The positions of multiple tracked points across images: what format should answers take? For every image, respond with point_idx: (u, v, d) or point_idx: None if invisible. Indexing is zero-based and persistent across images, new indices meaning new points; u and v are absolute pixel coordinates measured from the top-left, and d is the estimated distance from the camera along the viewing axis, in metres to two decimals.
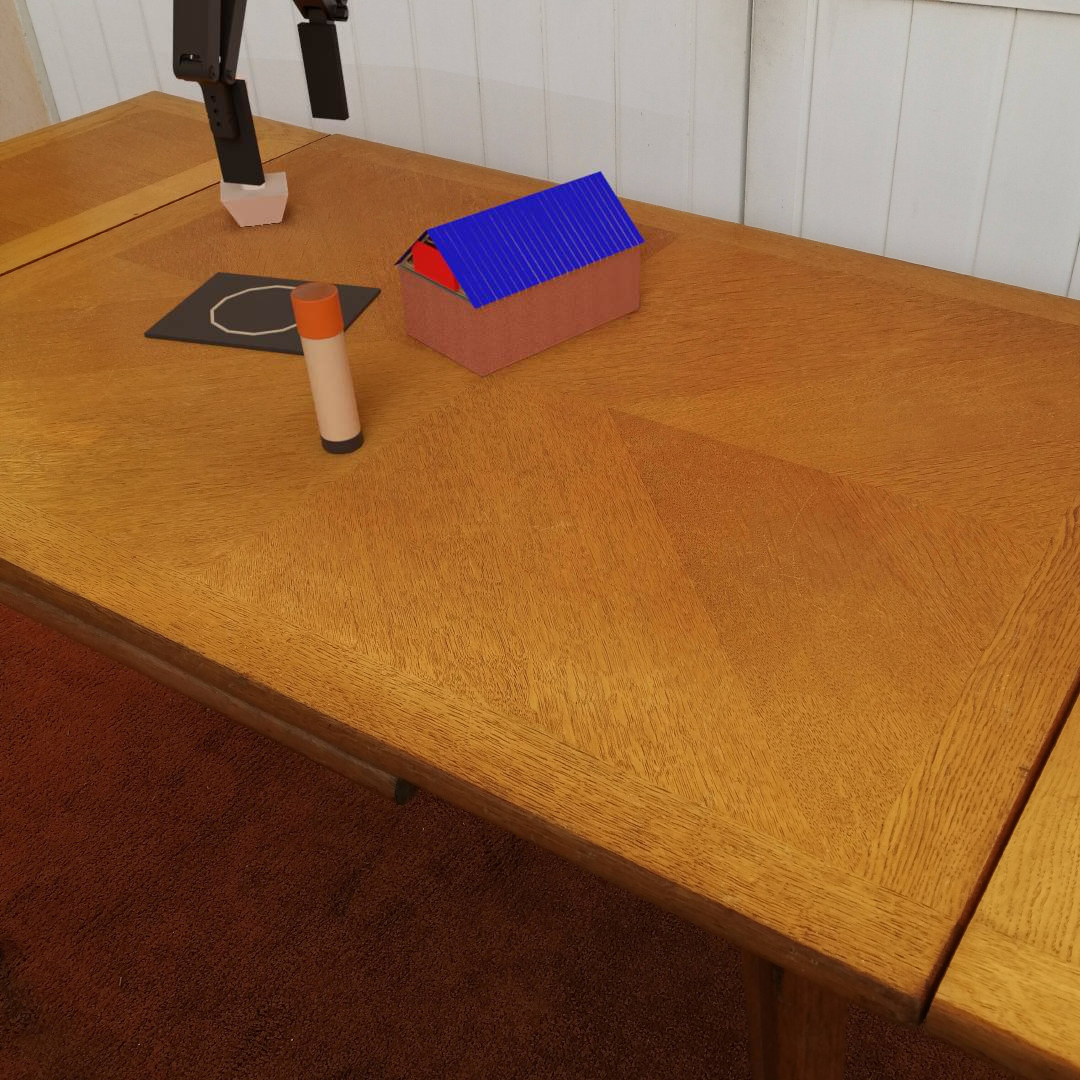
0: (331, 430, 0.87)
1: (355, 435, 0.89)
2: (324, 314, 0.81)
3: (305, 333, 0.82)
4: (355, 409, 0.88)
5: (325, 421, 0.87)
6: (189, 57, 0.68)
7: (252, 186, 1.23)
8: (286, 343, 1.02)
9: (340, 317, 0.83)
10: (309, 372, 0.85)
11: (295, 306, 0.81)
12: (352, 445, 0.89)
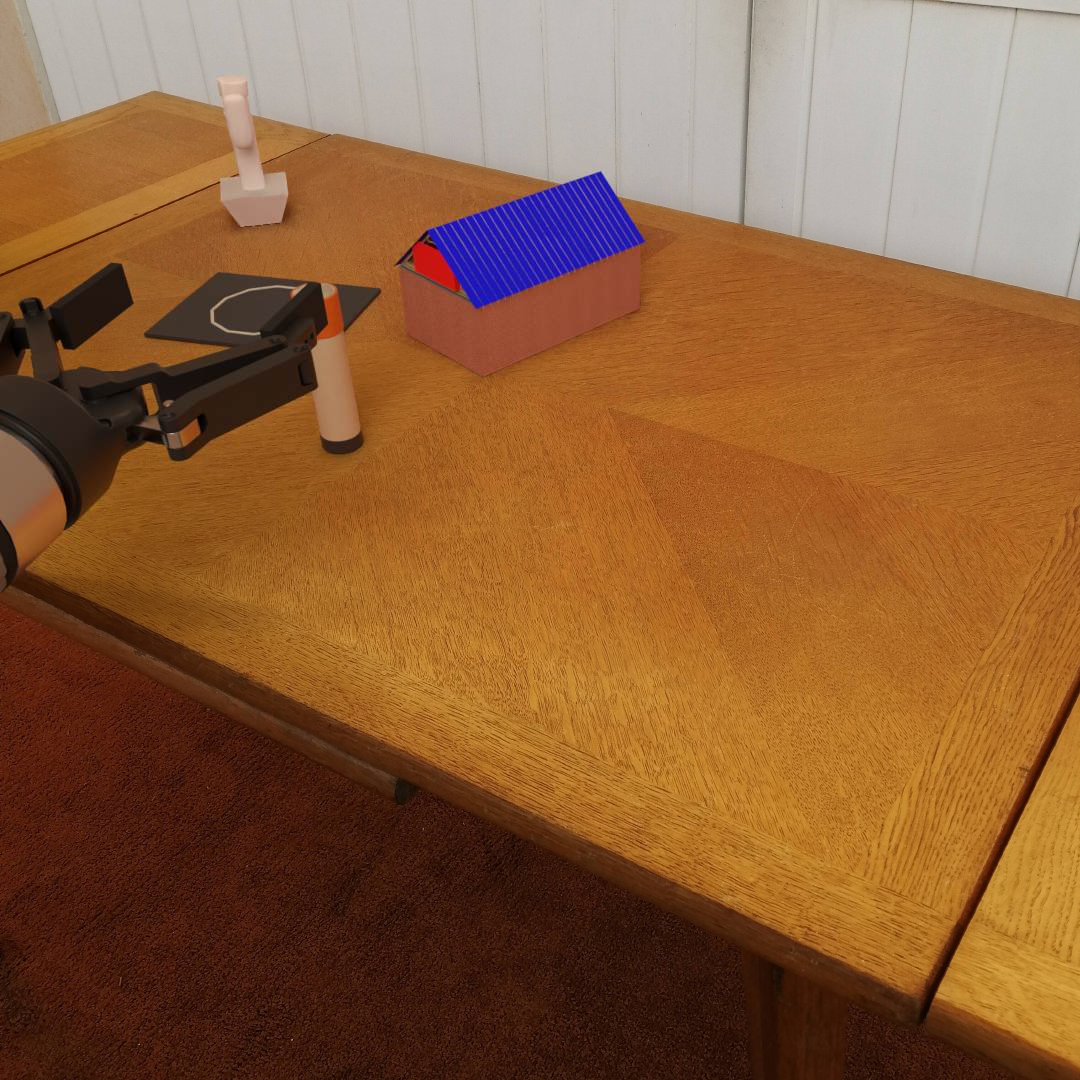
0: (331, 430, 0.87)
1: (355, 435, 0.89)
2: None
3: None
4: (355, 409, 0.88)
5: (325, 421, 0.87)
6: (8, 327, 0.65)
7: (252, 186, 1.23)
8: None
9: (340, 317, 0.83)
10: None
11: None
12: (352, 445, 0.89)
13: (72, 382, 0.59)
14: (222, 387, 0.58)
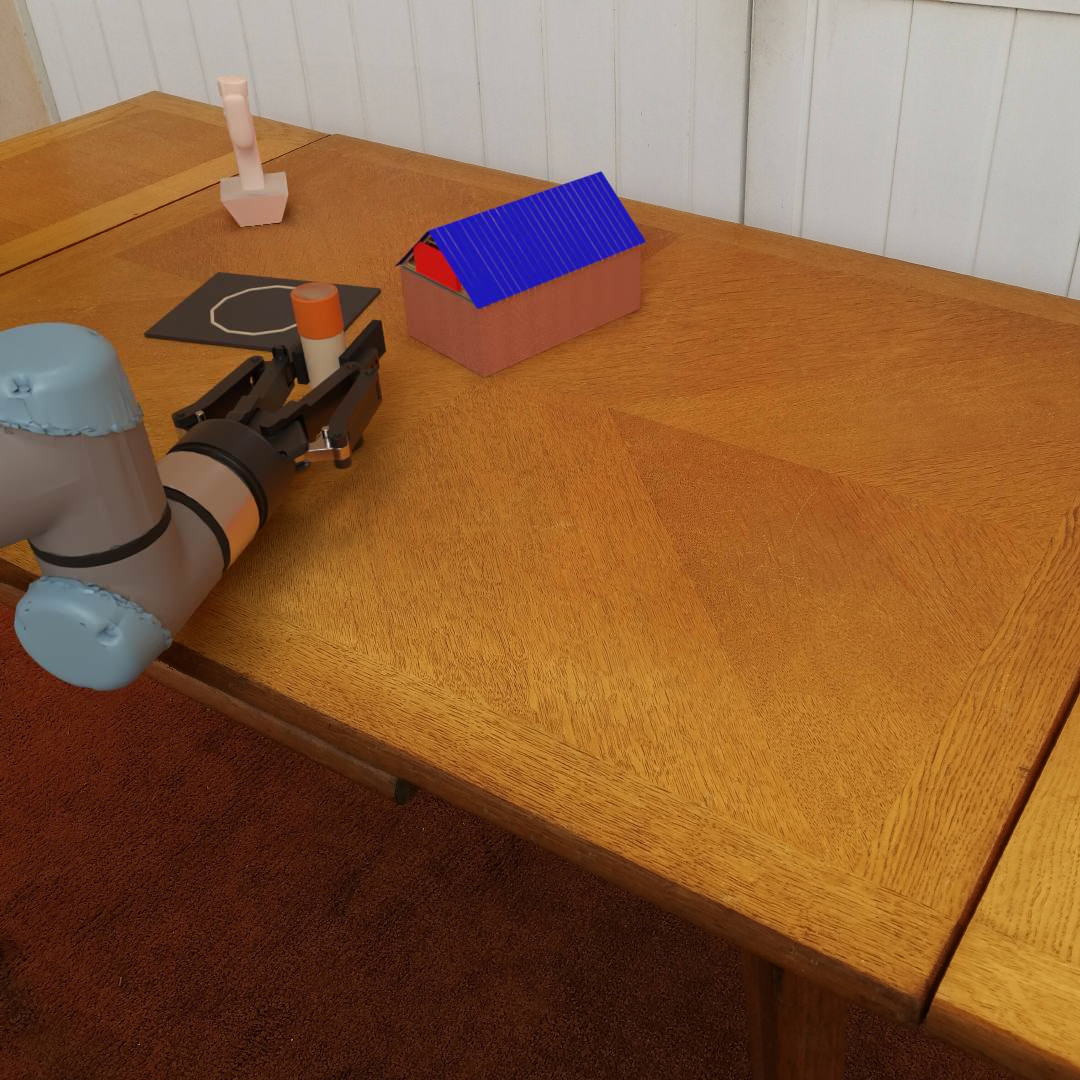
0: None
1: None
2: (324, 315, 0.81)
3: (305, 333, 0.82)
4: None
5: None
6: (256, 369, 0.84)
7: (252, 186, 1.23)
8: (286, 343, 1.02)
9: (340, 317, 0.83)
10: (309, 372, 0.85)
11: (295, 306, 0.81)
12: None
13: (250, 421, 0.77)
14: (350, 408, 0.78)
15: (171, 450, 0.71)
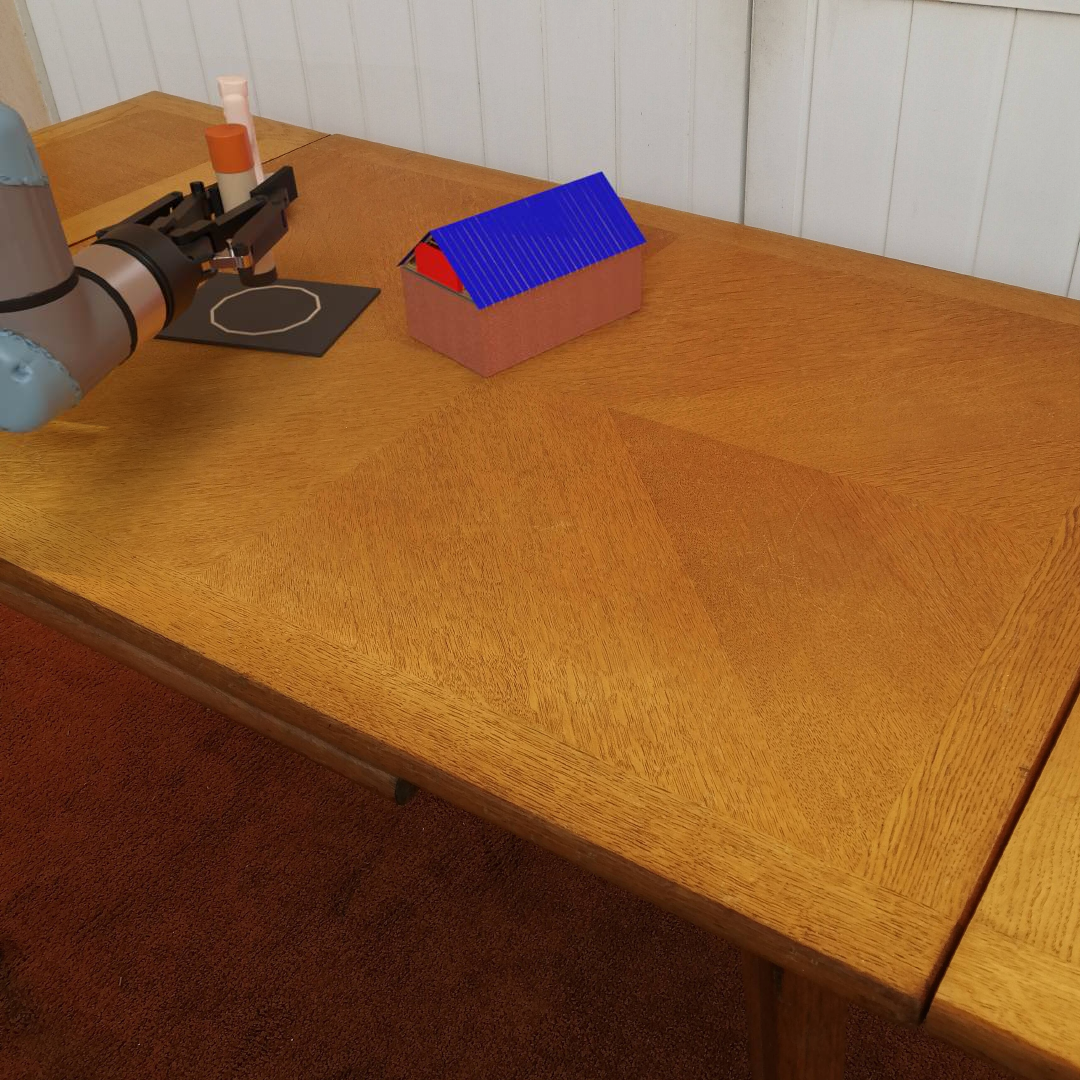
0: None
1: (269, 270, 0.99)
2: (234, 149, 0.91)
3: (218, 167, 0.92)
4: None
5: None
6: (175, 202, 0.94)
7: None
8: (286, 343, 1.02)
9: (250, 154, 0.93)
10: (224, 207, 0.95)
11: (208, 142, 0.91)
12: (266, 279, 0.99)
13: None
14: (254, 227, 0.88)
15: None
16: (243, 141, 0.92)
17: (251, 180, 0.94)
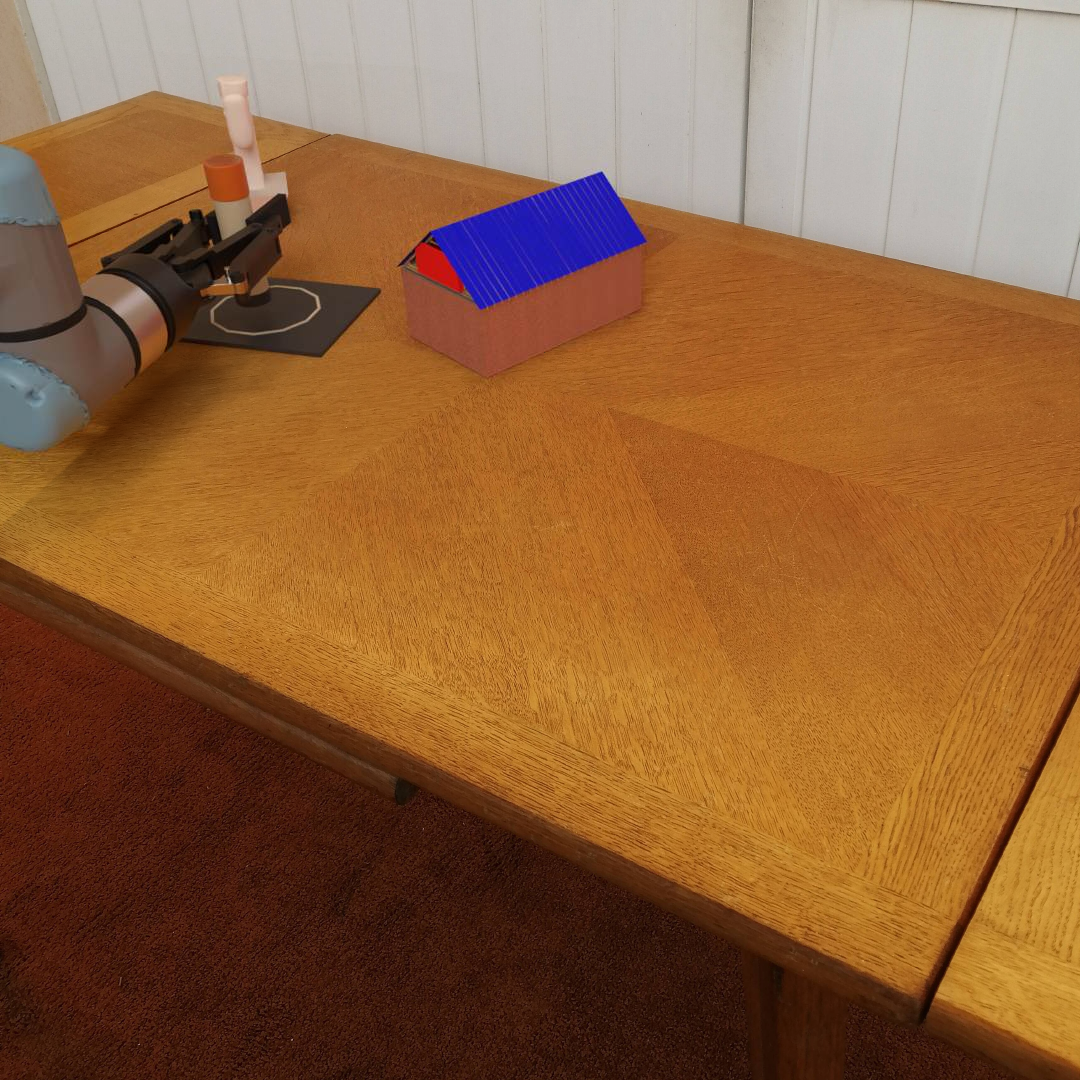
0: None
1: (263, 291, 1.04)
2: (230, 179, 0.97)
3: (216, 196, 0.98)
4: None
5: None
6: (175, 229, 0.99)
7: (252, 186, 1.23)
8: (286, 343, 1.02)
9: (245, 183, 0.98)
10: (221, 232, 1.00)
11: (206, 172, 0.97)
12: (261, 300, 1.04)
13: (166, 263, 0.93)
14: (249, 255, 0.94)
15: None
16: (239, 171, 0.97)
17: (246, 207, 0.99)
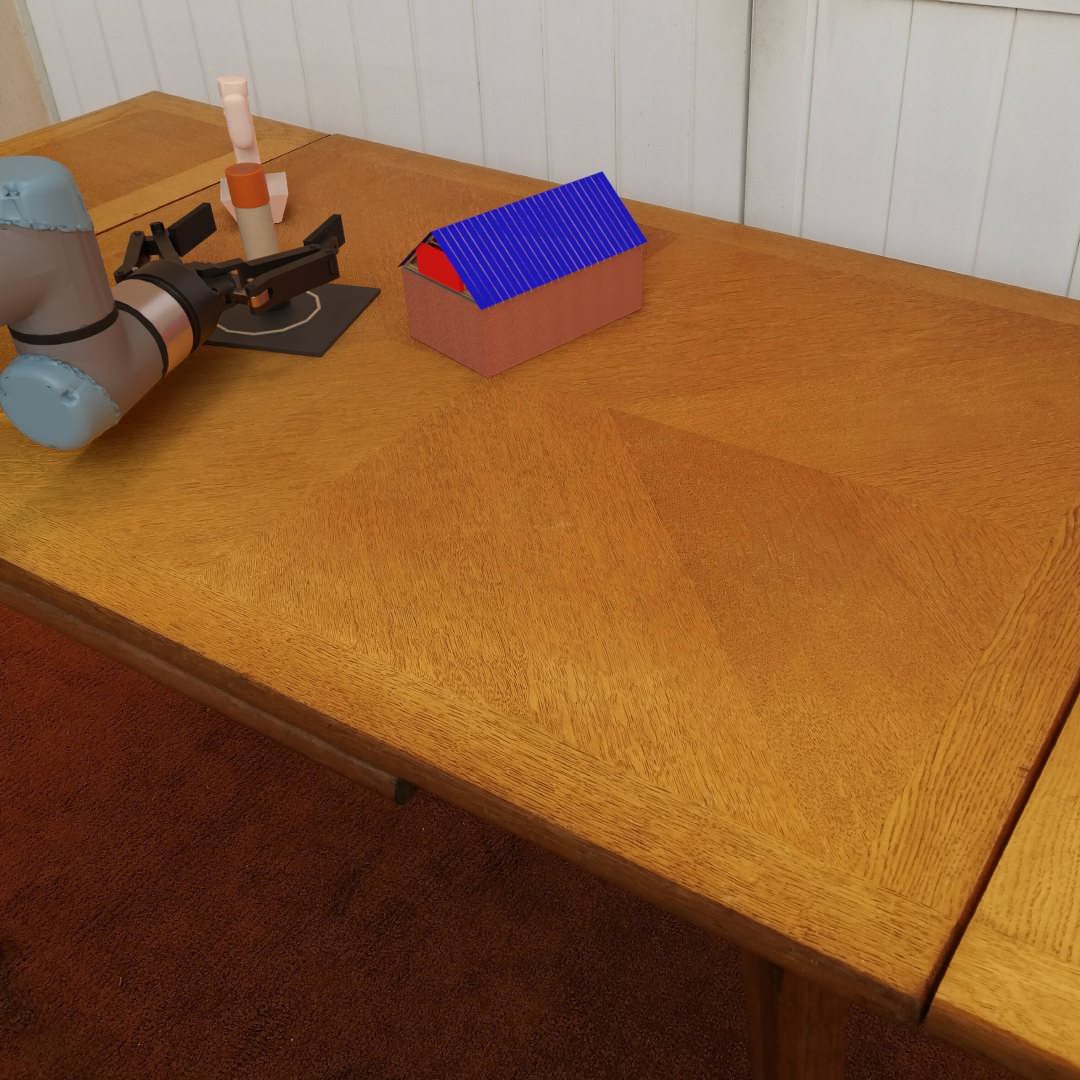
0: None
1: None
2: (251, 187, 1.00)
3: (237, 203, 1.01)
4: None
5: None
6: (143, 240, 1.02)
7: None
8: (286, 343, 1.02)
9: (266, 191, 1.02)
10: (242, 238, 1.04)
11: (228, 180, 1.00)
12: (280, 303, 1.08)
13: None
14: (282, 271, 0.95)
15: None
16: (260, 179, 1.00)
17: (267, 214, 1.02)
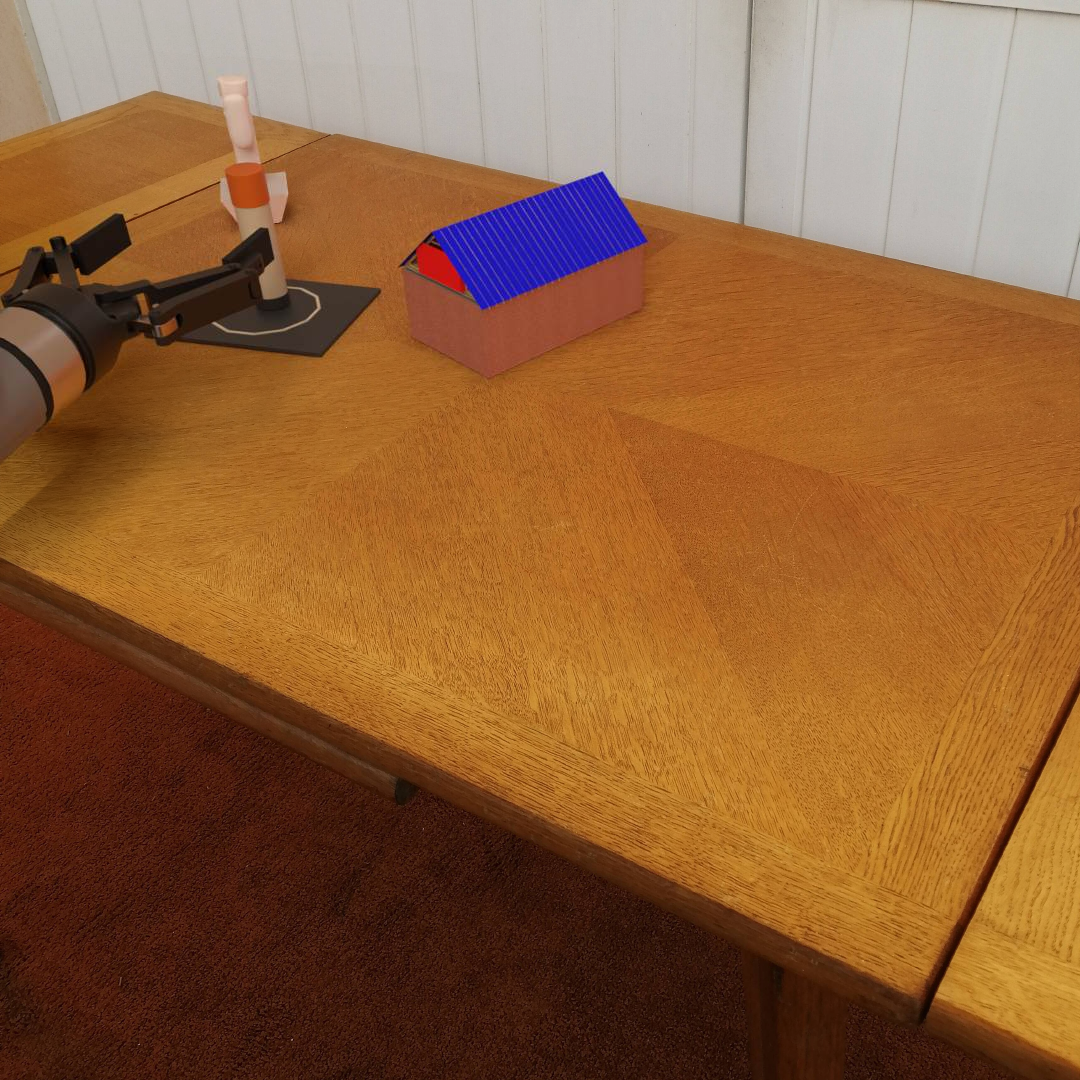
0: (262, 289, 1.06)
1: (282, 295, 1.07)
2: (251, 187, 1.00)
3: (237, 203, 1.01)
4: (282, 272, 1.07)
5: None
6: (41, 257, 0.90)
7: None
8: (286, 343, 1.02)
9: (266, 191, 1.02)
10: (242, 238, 1.04)
11: (228, 180, 1.00)
12: (280, 303, 1.08)
13: (89, 292, 0.84)
14: (193, 296, 0.83)
15: None
16: (260, 179, 1.00)
17: (267, 214, 1.02)
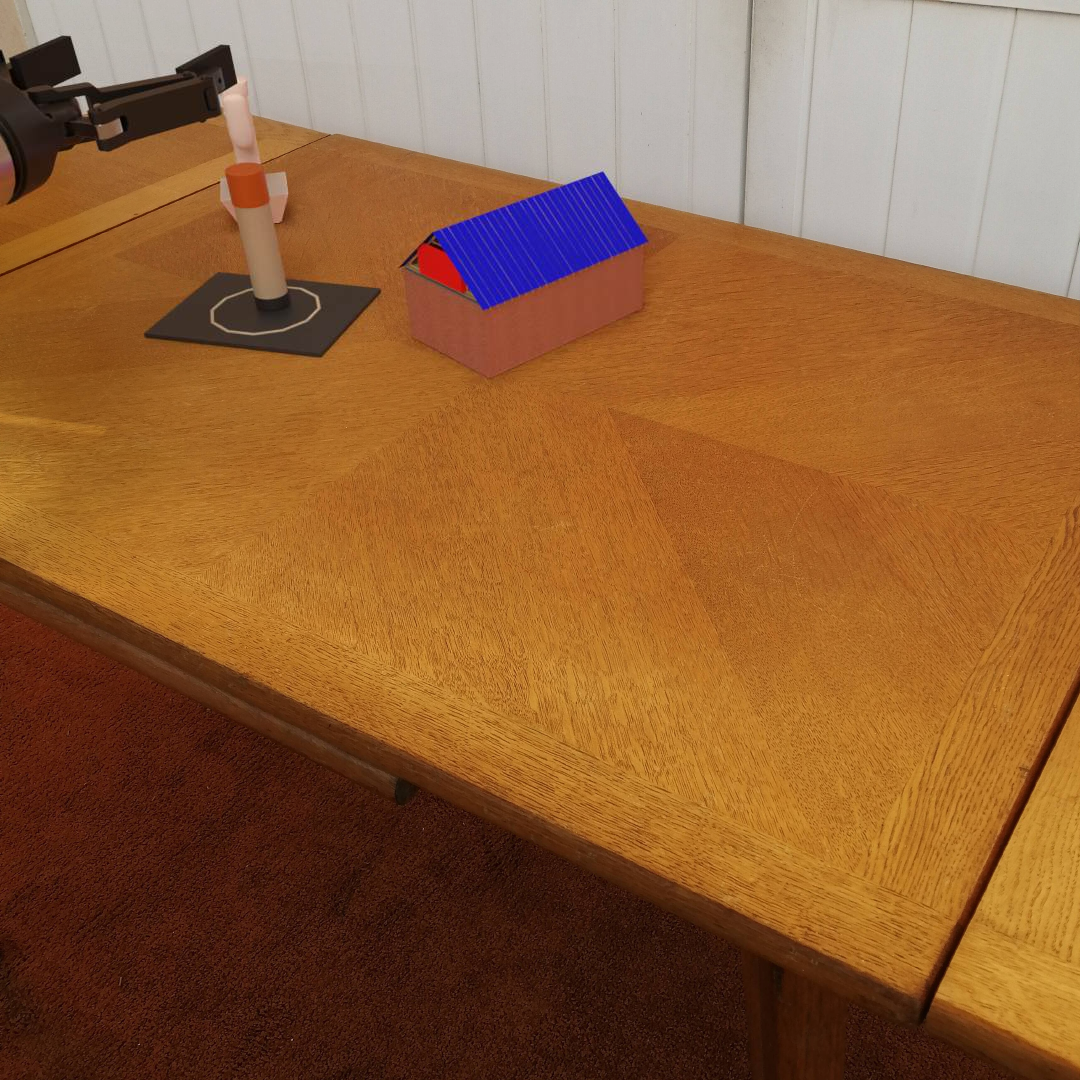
0: (262, 289, 1.06)
1: (282, 295, 1.07)
2: (251, 187, 1.00)
3: (237, 203, 1.01)
4: (282, 272, 1.07)
5: (257, 281, 1.06)
6: None
7: None
8: (286, 343, 1.02)
9: (266, 191, 1.02)
10: (242, 238, 1.04)
11: (228, 180, 1.00)
12: (280, 303, 1.08)
13: None
14: (140, 97, 0.74)
15: None
16: (260, 179, 1.00)
17: (267, 214, 1.02)
